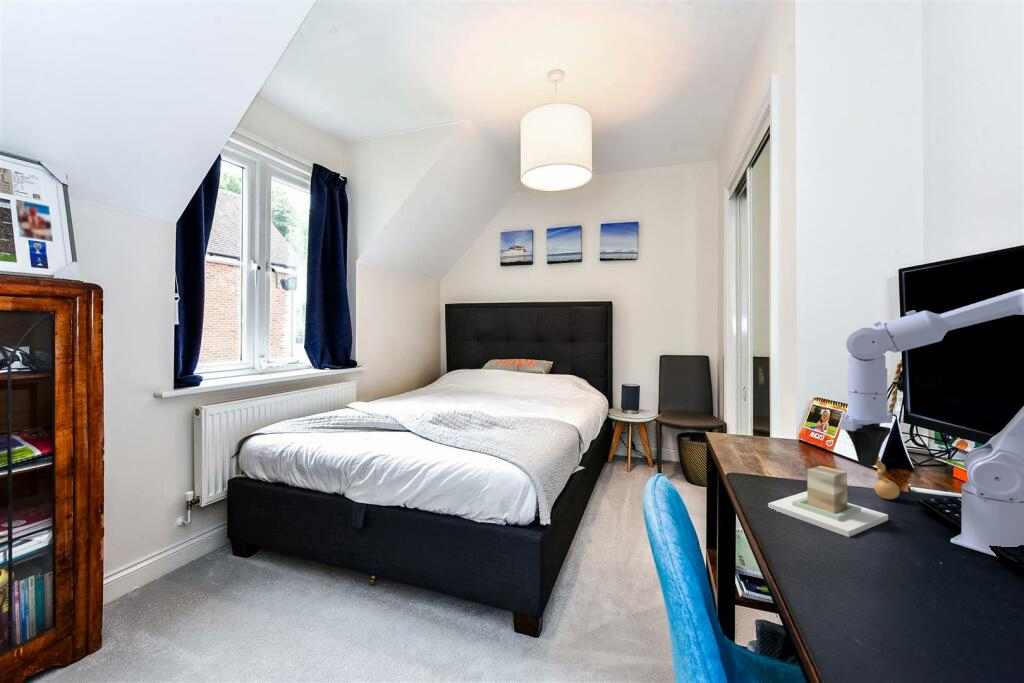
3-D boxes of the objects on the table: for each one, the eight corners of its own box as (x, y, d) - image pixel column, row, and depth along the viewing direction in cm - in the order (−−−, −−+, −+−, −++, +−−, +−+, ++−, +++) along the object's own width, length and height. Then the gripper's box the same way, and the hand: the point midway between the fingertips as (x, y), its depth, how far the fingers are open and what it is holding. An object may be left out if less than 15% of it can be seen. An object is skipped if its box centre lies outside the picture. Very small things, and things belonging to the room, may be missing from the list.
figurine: (900, 507, 85) (900, 447, 85) (861, 499, 89) (861, 443, 89) (898, 495, 92) (898, 439, 91) (862, 488, 96) (862, 435, 95)
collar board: (807, 495, 92) (807, 487, 92) (888, 520, 80) (888, 510, 80) (768, 508, 86) (768, 499, 86) (848, 537, 73) (848, 526, 73)
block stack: (820, 502, 86) (820, 465, 85) (847, 511, 81) (847, 472, 81) (807, 507, 83) (807, 469, 83) (833, 515, 79) (833, 476, 79)
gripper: (861, 387, 87) (861, 453, 87) (822, 392, 80) (822, 464, 80) (906, 391, 80) (905, 462, 80) (867, 397, 74) (867, 475, 74)
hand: (867, 464), depth 80 cm, fingers closed
